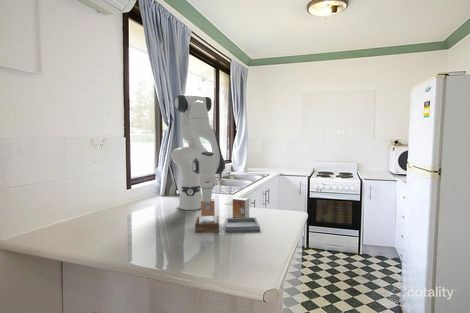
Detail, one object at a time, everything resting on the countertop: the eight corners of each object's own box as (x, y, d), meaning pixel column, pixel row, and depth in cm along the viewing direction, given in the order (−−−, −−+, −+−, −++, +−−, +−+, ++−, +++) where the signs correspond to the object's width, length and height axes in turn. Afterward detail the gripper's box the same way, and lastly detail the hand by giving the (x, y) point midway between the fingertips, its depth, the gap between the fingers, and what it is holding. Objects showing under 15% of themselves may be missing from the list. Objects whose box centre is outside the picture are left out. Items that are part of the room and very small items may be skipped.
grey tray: (225, 222, 152) (225, 218, 151) (255, 222, 152) (255, 217, 152) (226, 232, 137) (225, 226, 136) (259, 231, 137) (259, 226, 137)
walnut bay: (197, 224, 150) (197, 216, 150) (218, 223, 150) (218, 216, 150) (195, 232, 136) (195, 224, 136) (218, 232, 137) (218, 223, 137)
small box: (232, 217, 162) (232, 198, 161) (237, 215, 167) (236, 197, 166) (245, 219, 158) (245, 200, 157) (249, 216, 163) (249, 198, 162)
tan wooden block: (201, 213, 158) (201, 199, 157) (214, 213, 158) (214, 198, 158) (201, 216, 153) (201, 201, 152) (214, 215, 153) (214, 200, 153)
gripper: (202, 179, 165) (203, 203, 166) (200, 185, 144) (200, 213, 145) (214, 179, 165) (214, 203, 166) (213, 185, 144) (213, 212, 146)
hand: (207, 208), depth 155 cm, fingers closed on tan wooden block, 5 cm apart
